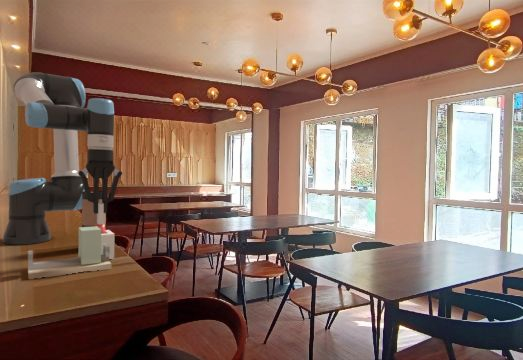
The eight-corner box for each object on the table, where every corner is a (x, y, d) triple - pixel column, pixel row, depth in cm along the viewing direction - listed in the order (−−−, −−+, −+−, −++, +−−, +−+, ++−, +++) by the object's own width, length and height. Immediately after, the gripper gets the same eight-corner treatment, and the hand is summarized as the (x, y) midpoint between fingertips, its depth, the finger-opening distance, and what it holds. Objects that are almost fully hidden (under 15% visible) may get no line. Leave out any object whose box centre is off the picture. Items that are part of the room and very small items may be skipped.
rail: (27, 270, 102) (27, 249, 102) (105, 261, 113) (105, 242, 113) (28, 279, 95) (28, 256, 94) (111, 268, 106) (111, 248, 105)
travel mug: (96, 251, 125) (96, 192, 124) (76, 250, 126) (76, 191, 126) (110, 246, 132) (110, 191, 132) (91, 245, 134) (91, 190, 133)
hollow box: (85, 256, 119) (85, 231, 119) (108, 253, 123) (109, 229, 122) (89, 262, 112) (90, 235, 112) (114, 259, 116) (114, 233, 116)
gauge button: (93, 239, 118) (94, 224, 117) (104, 238, 119) (104, 223, 119) (95, 241, 115) (95, 225, 115) (105, 240, 117) (106, 224, 117)
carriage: (78, 259, 108) (78, 227, 107) (96, 257, 111) (97, 226, 110) (81, 264, 103) (81, 230, 102) (100, 262, 105) (101, 229, 105)
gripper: (79, 147, 109) (79, 227, 110) (125, 149, 116) (124, 224, 118) (76, 148, 116) (75, 223, 117) (119, 150, 123) (118, 220, 124)
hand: (100, 223), depth 117 cm, fingers closed
